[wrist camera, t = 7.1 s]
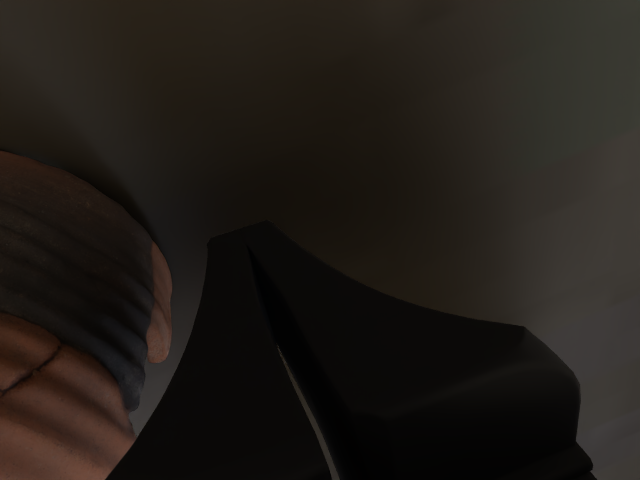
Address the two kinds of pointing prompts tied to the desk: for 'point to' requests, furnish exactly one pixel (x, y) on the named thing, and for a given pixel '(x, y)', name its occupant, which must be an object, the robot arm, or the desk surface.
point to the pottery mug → (72, 323)
